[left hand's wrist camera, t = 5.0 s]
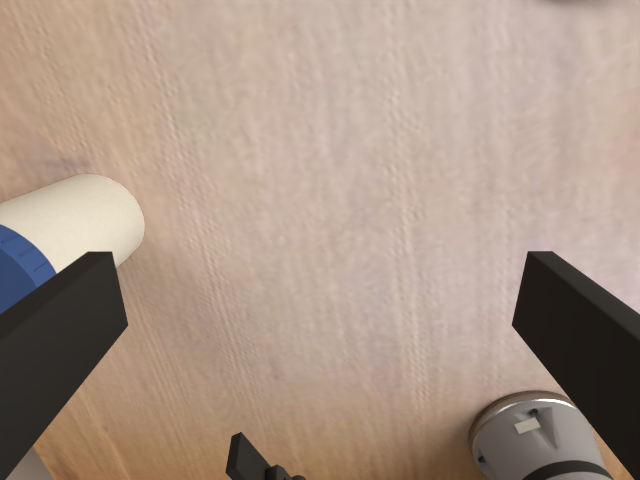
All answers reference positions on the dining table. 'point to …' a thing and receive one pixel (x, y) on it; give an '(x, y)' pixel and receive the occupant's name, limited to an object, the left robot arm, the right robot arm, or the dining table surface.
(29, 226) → the jar
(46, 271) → the lid
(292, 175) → the dining table surface
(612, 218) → the dining table surface
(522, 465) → the right robot arm
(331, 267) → the dining table surface
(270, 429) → the dining table surface
